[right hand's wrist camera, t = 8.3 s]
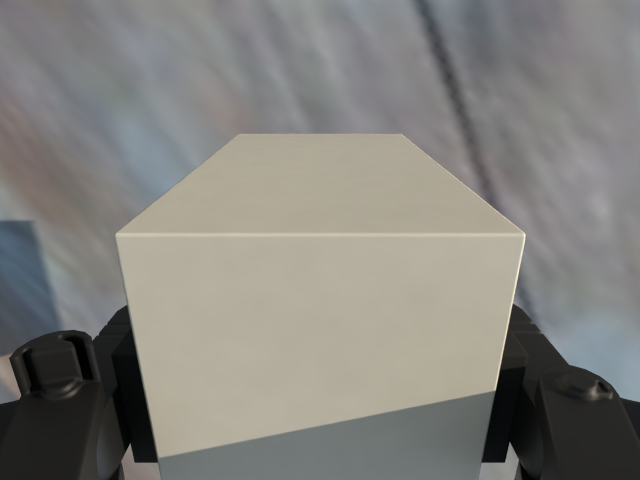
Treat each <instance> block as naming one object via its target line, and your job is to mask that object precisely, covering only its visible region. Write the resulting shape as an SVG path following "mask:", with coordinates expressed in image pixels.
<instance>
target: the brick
mask: <svg viewBox="0 0 640 480" xmlns="http://www.w3.org/2000/svg"><path fill="white" fill-rule="evenodd" d="M114 240H115V245H116V250H117V255H118V260H119V265H120V270H121V276H122V281H123V286H124V291H125V296H126V301H127V306H128V311H129V316H130V322H131V327H132V332H133V337H134V342H135V347H136V352H137V357H138V363H139V368H140V373H141V378H142V383H143V388H144V393H145V398H146V403H147V409H148V414H149V419H150V424H151V429H152V434H153V439H154V444H155V450H156V455H157V460H158V465H159V470H160V475H161V480H478V478H479V473H480V468H481V463H482V458H483V453H484V447H485V442H486V437H487V432H488V427H489V422H490V417H491V411H492V406H493V401H494V396H495V391H496V386H497V381H498V376H499V370H500V365H501V360H502V355H503V350H504V345H505V340H506V335H507V329H508V324H509V319H510V314H511V309H512V304H513V299H514V294H515V288H516V283H517V278H518V273H519V268H520V263H521V258H522V252H523V247H524V242H525V233H524V232H522V231H521V230H520V229H519V228H517V227H516V226H515V225H514V224H512V223H511V222H510V221H509V220H508V219H506V218H505V217H504V216H503V215H501V214H500V213H499V212H498V211H496V210H495V209H494V208H493V207H491V206H490V205H489V204H488V203H486V202H485V201H484V200H483V199H481V198H480V197H479V196H478V195H476V194H475V193H474V192H473V191H471V190H470V189H469V188H468V187H466V186H465V185H464V184H463V183H461V182H460V181H459V180H458V179H457V178H455V177H454V176H453V175H452V174H450V173H449V172H448V171H447V170H445V169H444V168H443V167H442V166H440V165H439V164H438V163H437V162H435V161H434V160H433V159H432V158H430V157H429V156H428V155H427V154H425V153H424V152H423V151H422V150H420V149H419V148H418V147H417V146H415V145H414V144H413V143H412V142H410V141H409V140H408V139H407V138H406V137H404V136H403V135H402V134H238V135H237V136H236V137H234V138H233V139H232V140H231V141H229V142H228V143H227V144H226V145H224V146H223V147H222V148H221V149H219V150H218V151H217V152H216V153H214V154H213V155H212V156H211V157H209V158H208V159H207V160H206V161H204V162H203V163H202V164H201V165H199V166H198V167H197V168H196V169H194V170H193V171H192V172H191V173H189V174H188V175H187V176H186V177H184V178H183V179H182V180H181V181H179V182H178V183H177V184H176V185H174V186H173V187H172V188H171V189H169V190H168V191H167V192H166V193H164V194H163V195H162V196H161V197H159V198H158V199H157V200H156V201H154V202H153V203H152V204H151V205H149V206H148V207H147V208H146V209H144V210H143V211H142V212H141V213H139V214H138V215H137V216H136V217H135V218H133V219H132V220H131V221H130V222H128V223H127V224H126V225H125V226H123V227H122V228H121V229H120V230H118V231H117V232H116V233H115V234H114Z"/></svg>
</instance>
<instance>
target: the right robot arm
mask: <svg viewBox="0 0 640 480" xmlns="http://www.w3.org/2000/svg"><path fill="white" fill-rule="evenodd" d="M532 322H533V321H532V320H531V319H530V318H529V317H528V316H527V314H526V313H525V312H524V311H523V310H522V309H521V308H519V307H518V306H516V305H514V304H512V309H511V314H510V319H509V324H508V329H507V335H506V340H505V345H504V350H503V355H502V360H501V365H500V370H499V376H498V381H497V386H496V391H495V396H494V401H493V406H492V411H491V417H490V422H489V427H488V432H487V437H486V442H485V447H484V453H483V458H482V463H505V460H506V455H507V451H508V446H509V442H510V443H511V445H512V447H513V449H514V451H515V453H516V455H517V457H518V459H519V463H518V467H517V471H516V475H515V479H514V480H640V402H636V401H631V400H627V399H623V398H620V397H619V395H618V393H617V392H616V390H615V389H614V388H613V386H612V385H611V384H609V383H608V382H607V381H605V380H604V379H603V378H601V377H600V376H598V375H596V374H594V373H592V372H590V371H588V370H586V369H582V368H579V367H575V366H572V365H569V364H568V363H567V362H566V361H565V360H564V358H563V357H562V356H561V355H560V354H559V352H558V351H557V350H556V349H555V348H554V346H553V345H552V344H551V343H550V342H549V341H548V339H547V338H546V337H545V336H544V335H543V334H541V331H540V330H539V329H538V327H537V326H536V325H535V324H533V323H532ZM9 359H10V362H11V365H12V368H13V371H14V374H15V377H16V380H17V383H18V386H19V389H20V392H21V397H20V400H16V401H13V402H8V403H3V404H0V480H124V479H125V478H124V472H123V467H122V463H121V460H122V458H123V456H124V454H125V452H126V450H127V448H128V446H129V444H130V443H131V448H132V452H133V457H134V461H135V463H158V460H157V455H156V450H155V444H154V439H153V434H152V429H151V424H150V419H149V414H148V409H147V403H146V398H145V393H144V388H143V383H142V378H141V373H140V368H139V363H138V357H137V352H136V347H135V342H134V337H133V332H132V327H131V322H130V316H129V311H128V306H127V305H126V306H125V307H123V308H121V309H120V310H118V311H117V312H116V313H115V315H114V316H113V317H112V318H111V319H110V321H109V322H108V324H107V325H105V327H104V328H103V329H102V330H101V331H100V333H99V336H96V337H95V339H94V340H93V341H92V337H91V336H89V335H88V334H87V333H86V332H82V331H76V330H67V331H58V332H54V333H50V334H46V335H43V336H40V337H38V338H36V339H33V340H31V341H29V342H27V343H26V344H24V345H23V346H21V347H20V348H18V349H17V350H16V351H15V352H14V353H13V354H12V355H11V357H10V358H9Z"/></svg>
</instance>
